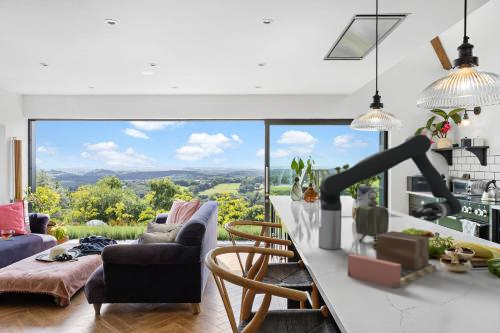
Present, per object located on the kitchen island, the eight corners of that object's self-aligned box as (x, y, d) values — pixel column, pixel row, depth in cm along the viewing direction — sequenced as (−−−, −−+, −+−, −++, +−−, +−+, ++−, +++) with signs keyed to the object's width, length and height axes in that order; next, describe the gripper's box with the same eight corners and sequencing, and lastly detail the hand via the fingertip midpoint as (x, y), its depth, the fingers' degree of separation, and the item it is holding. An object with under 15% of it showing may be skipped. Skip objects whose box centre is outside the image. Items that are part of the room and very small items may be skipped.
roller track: (391, 260, 150) (391, 242, 150) (436, 269, 137) (436, 250, 137) (347, 275, 128) (348, 255, 128) (396, 288, 116) (396, 266, 116)
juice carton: (376, 231, 212) (377, 183, 211) (371, 234, 203) (372, 184, 203) (360, 229, 217) (361, 183, 216) (355, 232, 208) (355, 184, 207)
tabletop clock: (374, 239, 191) (375, 190, 191) (389, 242, 184) (390, 191, 183) (355, 242, 183) (356, 191, 183) (370, 245, 176) (371, 192, 175)
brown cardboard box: (391, 256, 147) (392, 231, 146) (428, 264, 136) (429, 236, 136) (376, 261, 138) (376, 234, 138) (414, 270, 128) (414, 241, 128)
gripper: (418, 200, 161) (399, 203, 149) (451, 203, 152) (434, 206, 140) (417, 218, 161) (399, 222, 150) (450, 222, 152) (433, 226, 140)
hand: (416, 214), depth 145 cm, fingers closed
